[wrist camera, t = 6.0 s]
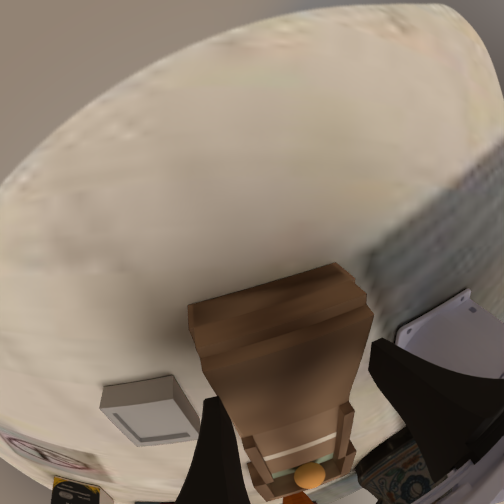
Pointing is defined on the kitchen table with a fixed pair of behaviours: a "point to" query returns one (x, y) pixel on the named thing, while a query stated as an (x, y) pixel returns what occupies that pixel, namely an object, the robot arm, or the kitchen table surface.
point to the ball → (309, 475)
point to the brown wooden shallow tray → (287, 370)
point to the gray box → (151, 412)
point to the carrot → (297, 499)
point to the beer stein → (397, 471)
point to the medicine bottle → (77, 493)
